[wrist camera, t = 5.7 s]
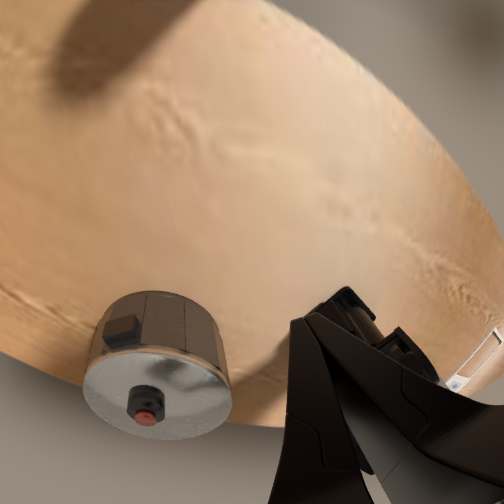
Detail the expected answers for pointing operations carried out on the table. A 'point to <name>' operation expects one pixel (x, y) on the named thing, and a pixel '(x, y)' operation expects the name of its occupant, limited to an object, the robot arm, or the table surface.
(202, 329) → the pot
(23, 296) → the table surface
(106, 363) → the lid
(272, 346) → the table surface
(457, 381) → the photo frame
